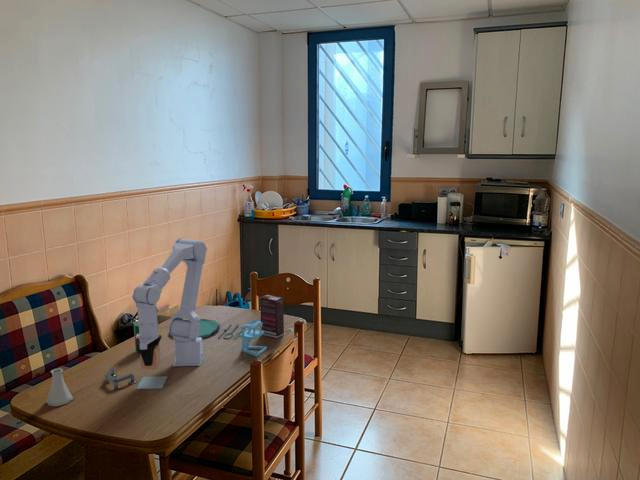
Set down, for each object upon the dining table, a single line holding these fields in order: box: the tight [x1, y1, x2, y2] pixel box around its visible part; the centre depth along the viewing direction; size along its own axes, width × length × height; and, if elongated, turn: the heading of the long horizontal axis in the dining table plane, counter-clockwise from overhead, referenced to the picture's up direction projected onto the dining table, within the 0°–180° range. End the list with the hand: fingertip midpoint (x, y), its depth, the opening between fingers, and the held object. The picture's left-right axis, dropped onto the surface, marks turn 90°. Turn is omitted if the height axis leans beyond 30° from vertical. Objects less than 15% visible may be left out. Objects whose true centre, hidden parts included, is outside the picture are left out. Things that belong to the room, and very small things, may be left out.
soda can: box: [133, 319, 140, 355], centre depth 190 cm, size 5×5×12 cm
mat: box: [135, 375, 168, 390], centre depth 167 cm, size 8×8×1 cm
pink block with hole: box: [139, 344, 162, 370], centre depth 165 cm, size 5×5×6 cm
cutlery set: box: [168, 318, 245, 341], centre depth 211 cm, size 20×30×2 cm, turn 80°
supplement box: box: [259, 294, 285, 339], centre depth 207 cm, size 9×5×16 cm, turn 58°
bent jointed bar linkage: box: [104, 367, 138, 390], centre depth 168 cm, size 10×11×3 cm
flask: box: [46, 367, 74, 408], centre depth 154 cm, size 7×7×10 cm
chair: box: [239, 319, 268, 358], centre depth 191 cm, size 8×8×12 cm
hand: (150, 361), depth 165 cm, fingers closed on pink block with hole, 5 cm apart
